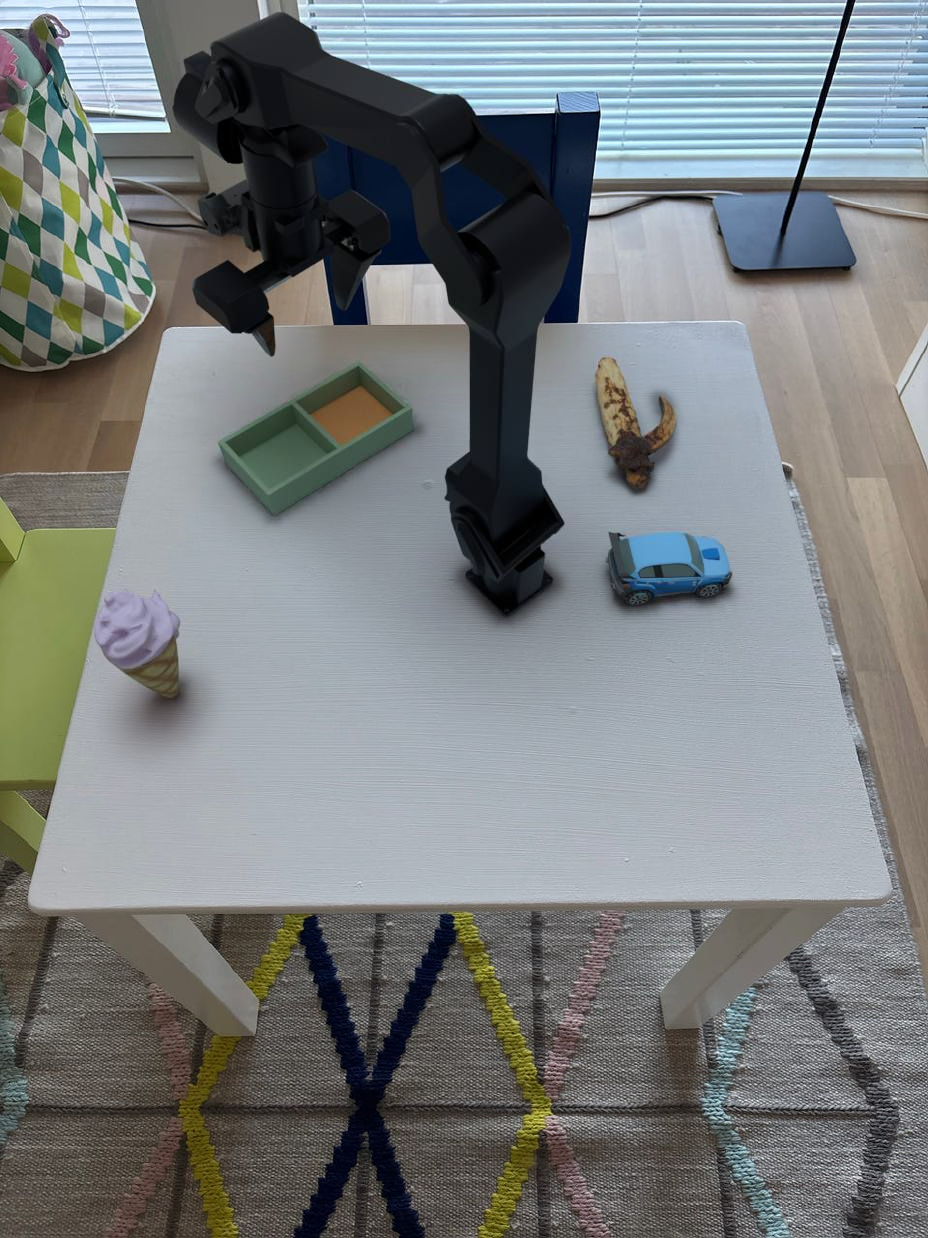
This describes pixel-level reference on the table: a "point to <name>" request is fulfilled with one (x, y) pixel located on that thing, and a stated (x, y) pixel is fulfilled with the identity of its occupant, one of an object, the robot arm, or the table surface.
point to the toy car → (666, 566)
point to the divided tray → (316, 436)
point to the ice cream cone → (141, 639)
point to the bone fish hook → (629, 425)
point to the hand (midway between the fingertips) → (306, 330)
